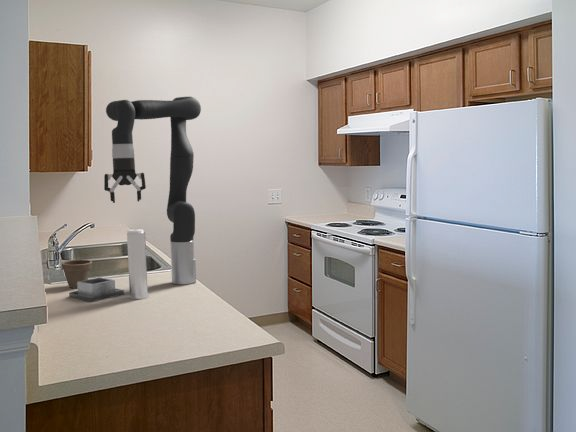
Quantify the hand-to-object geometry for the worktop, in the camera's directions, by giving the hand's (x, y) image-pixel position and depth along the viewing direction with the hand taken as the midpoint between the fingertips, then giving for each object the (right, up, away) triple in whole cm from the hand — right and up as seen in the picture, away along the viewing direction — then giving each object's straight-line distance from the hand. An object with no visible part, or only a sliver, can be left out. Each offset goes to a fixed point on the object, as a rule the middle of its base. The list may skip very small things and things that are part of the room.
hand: (126, 202), depth 195 cm
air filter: (+4, -35, +3) cm, 35 cm away
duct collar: (-13, -35, +7) cm, 38 cm away
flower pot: (-26, -34, +22) cm, 48 cm away
